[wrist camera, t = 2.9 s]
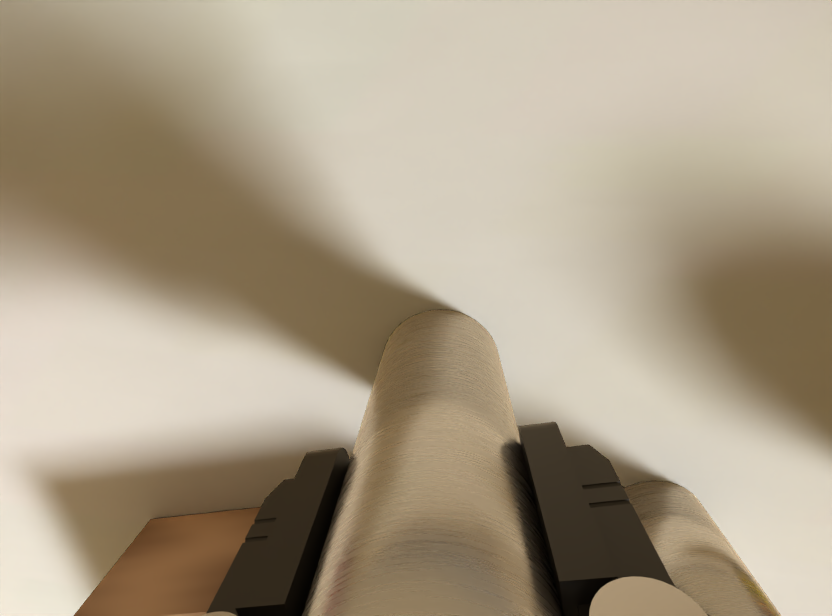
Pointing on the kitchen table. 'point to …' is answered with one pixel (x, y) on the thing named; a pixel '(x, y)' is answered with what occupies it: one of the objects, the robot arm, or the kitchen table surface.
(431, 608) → the long pin
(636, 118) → the kitchen table surface
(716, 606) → the short pin
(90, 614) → the hole block
